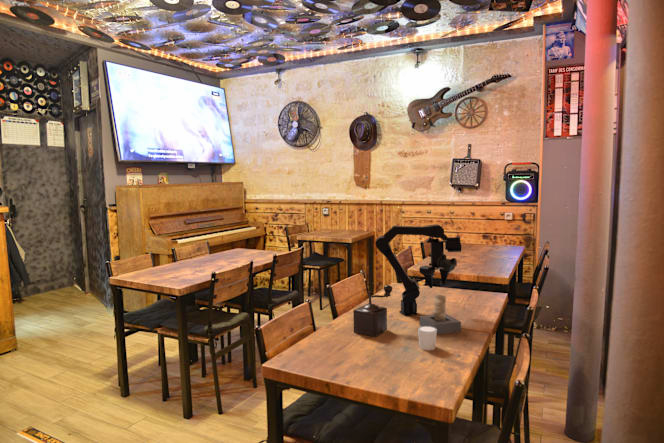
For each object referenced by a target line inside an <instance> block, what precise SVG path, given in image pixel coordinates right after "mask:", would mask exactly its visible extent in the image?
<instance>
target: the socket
mask: <svg viewBox="0 0 664 443" xmlns="http://www.w3.org/2000/svg"><path fill="white" fill-rule="evenodd" d="M422 326H431V327H434V328H436V329H437V334H436V336H437V335H444V334H450V333H453V334H454V333H459V332H462V322H461V320H458V319H457V318H455V317H453V316H451V315H449V314H447V313H445V321H442V322H436V321H435V320H434V314H425V315H419V327H422Z"/></svg>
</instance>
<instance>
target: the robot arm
mask: <svg viewBox="0 0 664 443" xmlns="http://www.w3.org/2000/svg"><path fill="white" fill-rule="evenodd" d="M401 235H403V236H406V235H407V236H425V237H428V239H426V242H425V243H426V244H430V254H428V257H429V258H430V262H429V263H428V265H421V266H420V267H419V268H418V269H419V273H420V274H421V275H422V276H423V277H424V279H425V281H426V283H427V285H428V287H429V289H433V284H434V277H435V275H436V274H435V273H436V271H437V270H439V275H440V279H441V282H442V285H446V283H447V280H448V276H449V274H450V273H451V272H452V271H454V270H455V268H456V267H458V264H457V263H458V262H457V258H455V257H453V258H447V254H445V253H444V252H445V251H446V252H448V253H461V252H462V242H461V237H460V236H454V237H453V236H452V237H451V236H447V234H446V233H445V229H444V227H443V226H442V225H441V224H438V223H435V224H428V225H424V226H423V225H422V226H421V225H419V226H410V225H409V226H408V225H392V227H391V228H390V229H389V230H388V231H386V232H385V233H384V234H383V235H380V236H378V237H377V238H376V240H375V247H376V249H377V250H378V251H379V252H380V253H381V254H382V255H383V256H384V257H385V258H386V259H387V261H388V262H389V264H390V266H391V267H392V269H393V270H394V272H395V273H396V275H397V277H399V279H400V281H401V283H402V285H403V287H404V288H403V289H404V291H403V292H402V293H401V298H402V299H401V300H400V310H399V311H398V312H399V313H400V314H402V315H404V316H406V317H408V316H415V315H418V314H419V313H418V303H417V300H416V299H418V298H419V297H420V293H421V292H420V289H421V288H420V285H419V284H418V283H417V281H416V279H415V278H412V279H411V278H410V276H409V275H408V273H407V272H406V270H405V269H404V268H403V265H402V264H401V263H400V262H399V260H398V258H397V257H396V255H395V253H394V251H393V249H392V247H391V244H390V242H392V241H393V239H394V238H395V237H396V236H401ZM439 239H441V240H439ZM444 250H445V251H444Z"/></svg>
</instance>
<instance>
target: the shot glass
mask: <svg viewBox="0 0 664 443" xmlns="http://www.w3.org/2000/svg"><path fill="white" fill-rule="evenodd" d="M417 332H418V333H417V334H418V344H419V345H418V347H419V348H420V350H424V351H433V350H435V349H436V343H437V335H436V334H437V329H436V328H434V327H431V326H419V327H418V328H417Z"/></svg>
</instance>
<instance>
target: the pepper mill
mask: <svg viewBox="0 0 664 443" xmlns="http://www.w3.org/2000/svg"><path fill="white" fill-rule="evenodd" d="M383 290H384V294H383V295H377V294H376V295H375V294H374V295H372V291H370V290H369V291H368V295H367V296H368V303H366V304H364V305H362V306H359V307H358V308H355V309H353V311H352V312H353V333H356V334H359V335H364V336H367V337H372V338H377V337H378V336H380V335H382V334H383V333H384V332H386V331H387V330H388V309H387V307H385V306H379V305H378V304H375V303H372V298H388V297H391V296H392V295H391V292H392V291H393V286H392V285H390V284H385V285H384V286H383Z"/></svg>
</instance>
